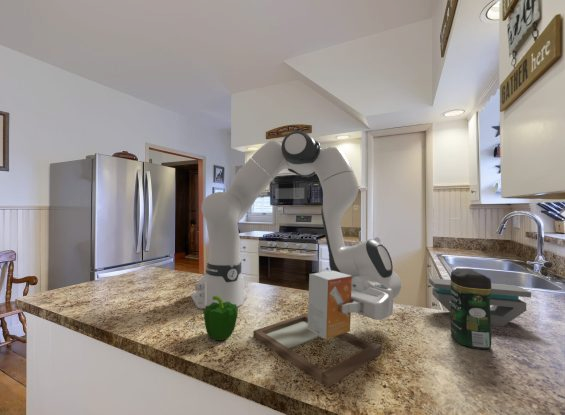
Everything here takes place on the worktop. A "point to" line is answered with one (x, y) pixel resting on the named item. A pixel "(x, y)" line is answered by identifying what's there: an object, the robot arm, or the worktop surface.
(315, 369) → the brown wooden frame
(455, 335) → the coffee jar
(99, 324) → the worktop surface
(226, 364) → the worktop surface
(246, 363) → the worktop surface
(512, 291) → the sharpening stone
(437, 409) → the worktop surface
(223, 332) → the bell pepper
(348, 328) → the small box
